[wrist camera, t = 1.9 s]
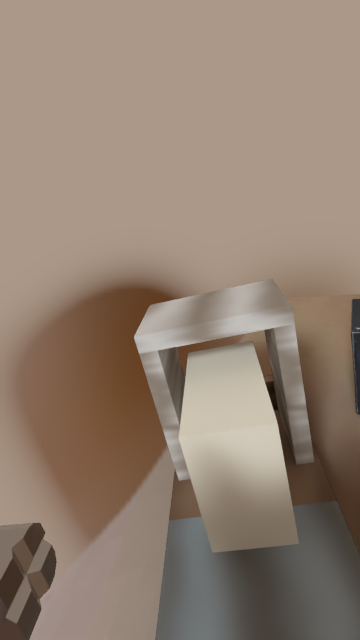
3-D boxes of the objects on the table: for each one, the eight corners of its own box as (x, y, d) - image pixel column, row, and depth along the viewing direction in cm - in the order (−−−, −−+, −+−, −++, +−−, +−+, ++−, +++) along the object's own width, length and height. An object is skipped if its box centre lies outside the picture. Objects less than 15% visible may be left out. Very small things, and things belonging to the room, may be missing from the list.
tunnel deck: (287, 399, 45) (264, 262, 39) (445, 804, 15) (450, 486, 9) (190, 414, 47) (155, 286, 41) (163, 801, 17) (20, 537, 11)
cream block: (269, 430, 35) (252, 340, 31) (299, 544, 23) (277, 423, 20) (210, 438, 36) (188, 353, 32) (212, 552, 24) (178, 438, 21)
